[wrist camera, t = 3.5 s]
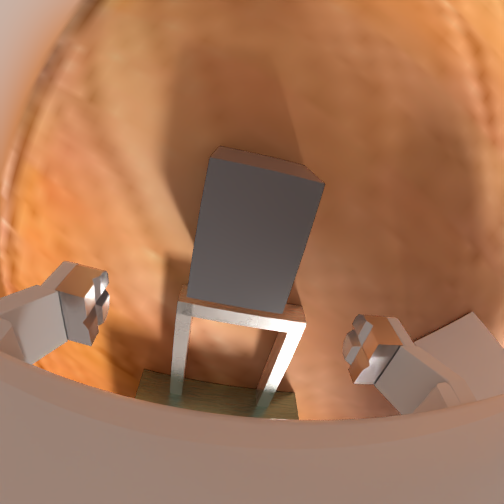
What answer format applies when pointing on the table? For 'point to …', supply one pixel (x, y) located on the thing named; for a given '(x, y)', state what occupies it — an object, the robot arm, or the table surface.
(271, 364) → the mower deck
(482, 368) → the milk carton
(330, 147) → the table surface
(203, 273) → the grey rectangular block
